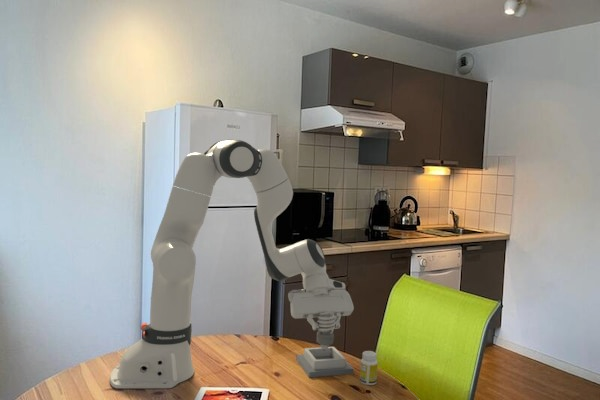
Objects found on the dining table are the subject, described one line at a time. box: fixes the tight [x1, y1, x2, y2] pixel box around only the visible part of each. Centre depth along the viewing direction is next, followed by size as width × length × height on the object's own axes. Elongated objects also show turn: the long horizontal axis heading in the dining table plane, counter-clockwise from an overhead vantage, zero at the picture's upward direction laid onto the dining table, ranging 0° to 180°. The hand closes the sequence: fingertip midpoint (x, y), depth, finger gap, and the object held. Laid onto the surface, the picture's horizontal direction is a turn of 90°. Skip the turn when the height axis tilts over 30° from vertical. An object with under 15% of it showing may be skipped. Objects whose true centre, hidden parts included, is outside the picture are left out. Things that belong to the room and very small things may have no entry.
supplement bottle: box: [359, 350, 379, 386], centre depth 130 cm, size 5×5×8 cm
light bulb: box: [316, 312, 337, 350], centre depth 139 cm, size 6×6×12 cm
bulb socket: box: [295, 346, 354, 378], centre depth 140 cm, size 14×13×4 cm
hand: (326, 328), depth 139 cm, fingers closed on light bulb, 6 cm apart
